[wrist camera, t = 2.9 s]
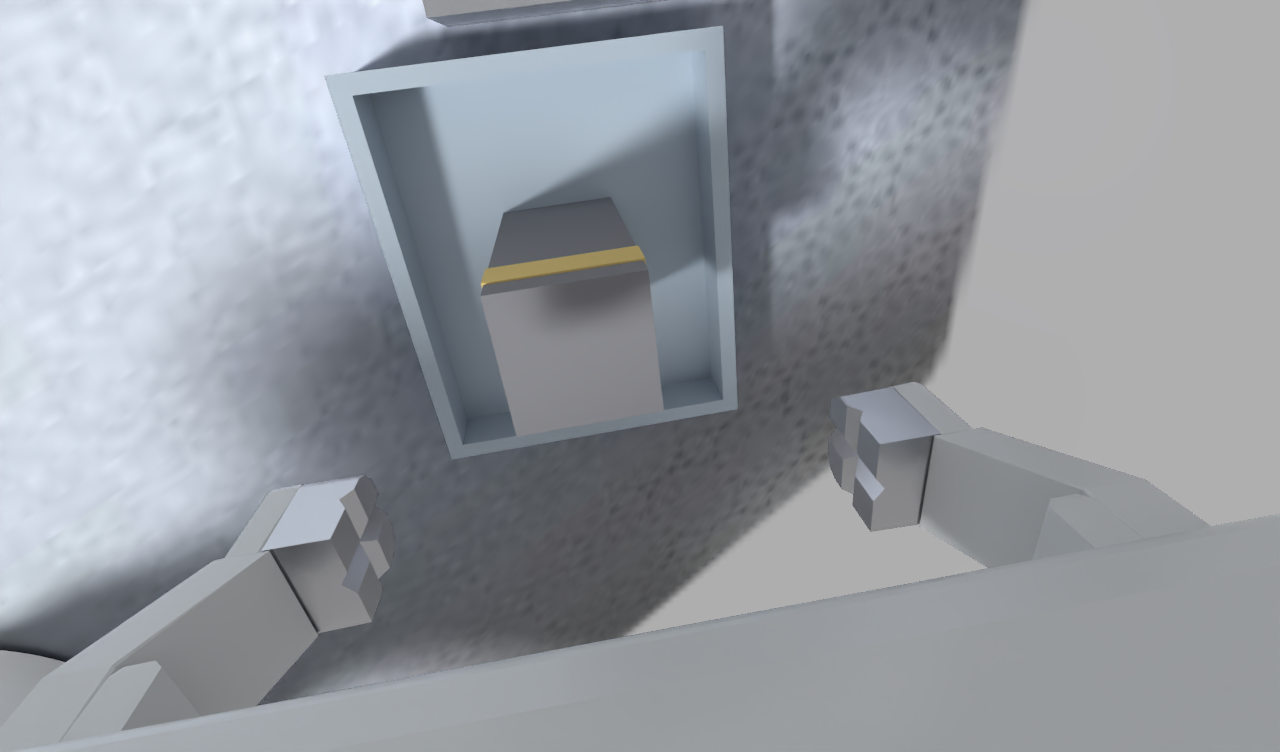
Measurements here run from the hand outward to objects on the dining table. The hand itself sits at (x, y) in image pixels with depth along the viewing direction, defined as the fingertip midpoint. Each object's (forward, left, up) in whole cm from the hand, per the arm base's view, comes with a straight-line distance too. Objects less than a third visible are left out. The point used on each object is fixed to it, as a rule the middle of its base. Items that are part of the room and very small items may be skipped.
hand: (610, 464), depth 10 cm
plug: (0, 0, -14) cm, 14 cm away
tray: (0, 0, -15) cm, 15 cm away
